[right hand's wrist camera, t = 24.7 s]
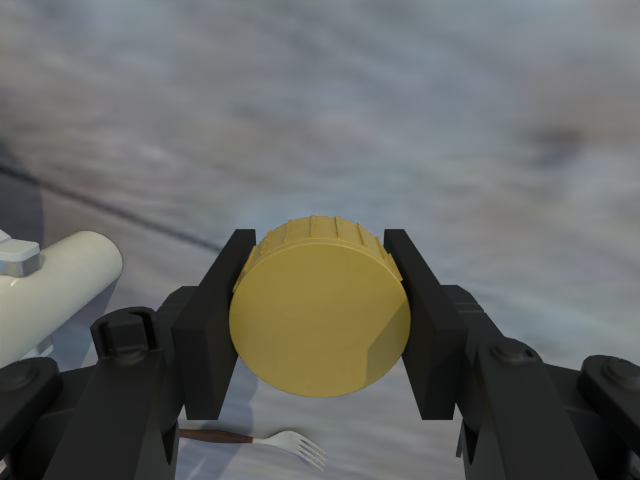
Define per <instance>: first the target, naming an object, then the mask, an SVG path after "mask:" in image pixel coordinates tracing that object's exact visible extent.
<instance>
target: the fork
mask: <svg viewBox="0 0 640 480" xmlns="http://www.w3.org/2000/svg"><path fill="white" fill-rule="evenodd" d="M179 432H180V437H184V438H190V439H195V440H201V441H207V442H214V443H262V444H268V445H272V446H275V447H278V448H281V449H284V450H286V451H289V452H292V453H294V454H297V455H299V456H301V457H302V458H304V459H306V460H307V461H309V462H310V463H312V464H313V465H315V466H316V467H317V468H319V469H320V470H321V471H323V469H322V468H321V467H320V466H318V465H317V464H316V463H315V462H313V461H312V460H311V459H309V458H308V457H306V456H305V455H303V454H302V453H301V452H299V450H300V451H302V452H304V453H305V454H307V455H309V456H310V457H312V458H313V459H315V460H316V461H318V462H319V463H320V464H322V465H323V466H324V465H325V464H324V463H323V462H321V461H320V460H319V459H317V458H316V457H315V456H313V455H312V454H311V453H309V452H308V451H306V450H305V449H303V448H302V447H301V446H300V445H302V446H304V447H305V448H307V449H309V450H310V451H312V452H313V453H315V454H316V455H318V456H319V457H321V458H322V459H323V460H326V459H325V458H324V457H323V456H322V455H320V454H319V453H318V452H316V451H315V450H314V449H312V448H311V447H309V446H308V445H306V444H305V443H304V442H302V441H301V440H304V441H305V442H307V443H309V444H310V445H312V446H314V447H315V448H317V449H318V450H320V451H321V452H323V453H324V454H325V455H326V454H327V453H326V452H325V451H323V450H322V449H321V448H319V447H318V446H317V445H315V444H314V443H313V442H311V441H310V440H308V439H307V438H305V437H303V436H302V435H300V434H298V433H296V432H294V431H283V432H280V433H278V434H276V435H274V436H271V437H269V438H266V439H259V438H254V437H249V436H244V435H240V434H235V433H230V432H225V431H218V430H185V429H179Z"/></svg>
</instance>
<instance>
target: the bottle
mask: <svg viewBox="0 0 640 480" xmlns="http://www.w3.org/2000/svg"><path fill="white" fill-rule="evenodd" d="M40 254H41V263H42V267H41V268H40V269H38V270H35V269H34V270H33V272H32V273H31V274H29V275H27V276H24V277H11V276H9V275H7V274H4V275H0V369H1V368H3V367H5V366H7V365H9V364H10V363H13V362H16V361H18V360H20V359H22V358H23V357H24V356H25V355H26V354H28V353H29V352H30V351H31V350H32V349H34V348H35V347H36V346H37V345H38V344H40V343H41V342H42V341H43V340H44V339H46V338H47V337H48V336H49V335H50V334H52V333H53V332H54V331H55V330H56V329H58V328H59V327H60V326H61V325H62V324H64V323H65V322H66V321H67V320H68V319H70V318H71V317H72V316H73V315H74V314H76V313H77V312H78V311H79V310H80V309H82V308H83V307H84V306H85V305H86V304H88V303H89V302H90V301H91V300H92V299H94V298H95V297H96V296H97V295H98V294H100V293H101V292H102V291H103V290H104V289H106V288H107V287H108V286H109V285H110V284H112V283H113V282H114V281H115V280H116V279H117V278H118V277H119V276H120V274H121V271H122V266H123V262H122V257H121V254H120V252H119V250H118V248H117V247H116V246H115V244H114V243H113V242H112V241H110V240H109V239H108V238H106V237H105V236H103V235H101V234H99V233H96V232H91V231H79V232H76V233H73V234H71V235H69V236H67V237H65V238H63V239H61V240H59V241H57V242H55V243H53V244H51V245H49V246H47V247H45V248H44V249H42V250H40Z"/></svg>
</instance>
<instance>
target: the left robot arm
mask: <svg viewBox="0 0 640 480" xmlns="http://www.w3.org/2000/svg"><path fill="white" fill-rule="evenodd" d="M41 267H42V263H41V254H40V248H39V243H37V242H30V241H23V240H16V239H12V238H11V236H9V235H8V234H6V233H5V232H3V231H2V230H0V275H4V274H7V275H9V276H11V277H24V276H27V275H29V274H31V273H32V272H33V270H34V269H35V270H38V269H40V268H41ZM52 351H53V342H52V336H51V334H50V335H49V336H48V337H47V338H46V339H44V340H43V341H42V342H41V343H40V344H38V345H37V346H36V347H35V348H34V349H32V350H31V351H30V352H29V353H28V354H26V355H25V356H24V357H23V358H22V359H26V358H33V357H46V356H47V355H48V354H50V353H51V352H52ZM22 359H20V360H22ZM20 360H19V361H20Z"/></svg>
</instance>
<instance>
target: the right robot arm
mask: <svg viewBox="0 0 640 480" xmlns="http://www.w3.org/2000/svg"><path fill="white" fill-rule="evenodd" d="M254 246H256V234H255V229H236V230H235V231H234V233H233V235H232V236H231V238H230V239H229V241H228V242H227V244H226V245H225V247H224V248H223V250H222V251H221V253H220V254H219V256H218V257H217V259H216V260H215V262H214V263H213V265H212V266H211V268H210V269H209V271H208V272H207V274H206V275H205V277H204V278H203V280H202V281H201V283H200V284H199V286H182V287H181V288H179V289H177V290H176V291H174V292H173V293H171V294H170V295H169V296H168V297H167V299H166V300H165V301H164V302H163V304H162V306H160V308H159V309H158V310H157V311H156V312H155V311H154V310H153V309H151V308H147V307H128V308H124V309H119V310H116V311H114V312H111V313H108V314H106V315H104V316H103V317H101V318H100V319H98V320H96V321H95V322H94V323H93V325H92V326H91V327H90V330H91V334H92V337H93V341H94V345H95V348H96V352H97V355H98V359H99V360H98V362H97V364H96V365H93V366H89V367H85V368H80V369H75V370H70V371H65V372H61V373H60V371H59V368H58V365H57V362H56V361H54V360H53V359H52V358H48V357H33V358H26V359H22V360H20V361H19V360H18V361H16V362H13V363H10V364H9V365H7V366H5V367H3V368H1V369H0V461H1V460H2V459H4V461H5V463H6V466H7V467H6V468H5V469H4V470H3V471H2V473H1V474H0V480H174V478H175V470H176V462H177V453H178V445H179V437H180V432H179V425H178V420H177V418H178V416H179V414H180V411H181V409H182V407H183V405H185V410H186V416H187V420H218V417H219V414H220V411H221V408H222V405H223V402H224V399H225V395H226V392H227V389H228V386H229V383H230V380H231V377H232V374H233V371H234V367H235V364H236V361H237V358H238V353H237V351H236V349H235V347H234V344H233V342H232V339H231V335H230V327H229V309H230V305H231V300H232V298H233V295H234V292H232V291H233V288H234V286H235V284H236V282H237V280H238V278H239V275H240V273H241V271H242V269H243V267H244V265H245V264H246V262H247V260H248V258H249V255H250V253H251V251H252V249H253V247H254ZM383 247H384V249H385V250H386V252H387V254H391V256H392V258H393V260H394V262H395V264H396V266H397V269H398V271H399V273H400V275H401V277H402V279H403V280H402V281H400V282H401V284H402V286H403V288H404V290H405V293H406V295H407V298H408V301H409V305H410V311H411V325H410V333H409V338H408V341H407V344H406V346H405V349H404V351H403V353H402V354H401V356H402V359H403V362H404V365H405V368H406V371H407V374H408V377H409V381H410V384H411V387H412V390H413V393H414V396H415V399H416V402H417V405H418V409H419V412H420V415H421V418H422V420H453V414H454V409H455V403H456V404H457V406H458V408H459V410H460V412H461V415H462V417H463V420H462V425H461V430H460V435H459V440H458V446H457V451H456V457H459V458H461V454H462V452H463V461H464V469H465V477H466V480H640V367H639V366H637V365H635V364H633V363H631V362H629V361H627V360H624V359H620V358H617V357H613V356H605V355H594V356H589V357H588V358H586V359H585V360H584V361H583V364H582V367H581V370H580V371H578V370H573V369H568V368H563V367H558V366H553V365H549V364H545V363H543V361H542V359H541V358H540V356H539V355H538V354H537V352H536V351H535V350H533V349H532V348H530V347H529V346H528V345H526V344H524V343H522V342H520V341H518V340H515V339H512V338H508V337H504V335H503V334H502V333H501V332H500V330H499V329H498V328H497V327H496V325H495V324H494V323H493V322H492V320H491V319H490V318H489V316H488V315H487V314H486V313H484V310H483V309H482V308H481V306H480V305H478V303H477V301H476V300H475V299H474V297H473V296H472V295H471V294H470V293H469V292H468V291H466V290H464V289H463V288H461V287H460V286H458V285H440V283H439V282H438V280H437V279H436V277H435V276H434V274H433V273H432V271H431V270H430V268H429V267H428V265H427V264H426V262H425V261H424V259H423V258H422V256H421V254H420V253H419V251H418V250H417V248H416V247H415V245H414V244H413V242H412V241H411V239H410V238H409V236H408V235H407V233H406V232H405V230H404V229H385V231H384V245H383Z"/></svg>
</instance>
